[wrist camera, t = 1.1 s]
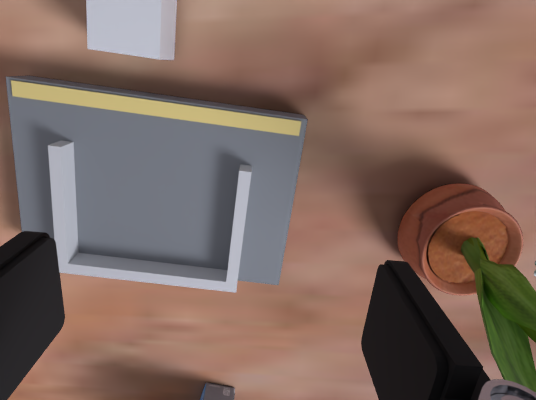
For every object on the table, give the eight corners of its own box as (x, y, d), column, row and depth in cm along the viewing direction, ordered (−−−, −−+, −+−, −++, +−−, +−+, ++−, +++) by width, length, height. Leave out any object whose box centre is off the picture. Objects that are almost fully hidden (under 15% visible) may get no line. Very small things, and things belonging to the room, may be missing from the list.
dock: (28, 75, 31) (-13, 77, 27) (303, 114, 33) (310, 123, 28) (42, 241, 37) (10, 266, 32) (277, 268, 38) (279, 297, 34)
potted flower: (444, 142, 34) (853, 319, 10) (526, 190, 35) (1039, 435, 12) (372, 244, 37) (554, 548, 14) (450, 283, 39) (730, 611, 16)
